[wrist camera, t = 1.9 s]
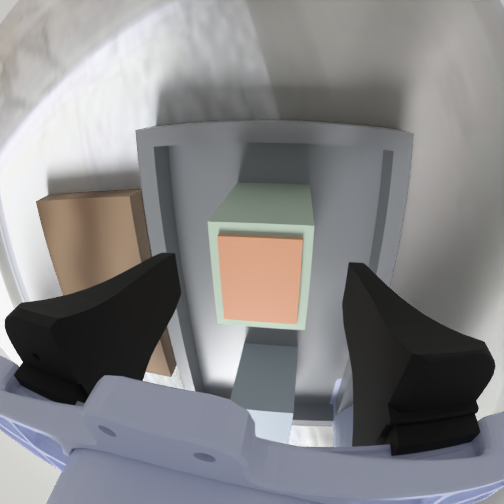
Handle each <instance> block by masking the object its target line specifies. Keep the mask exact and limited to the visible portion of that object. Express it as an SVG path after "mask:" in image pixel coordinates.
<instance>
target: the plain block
mask: <svg viewBox="0 0 504 504" xmlns="http://www.w3.org/2000/svg"><path fill="white" fill-rule="evenodd" d="M297 351H298V347H293V346H277V345H264V344H252V343H244V346H243V350H242V354H241V358H240V362H239V366H238V370H237V374H236V378H235V382H234V386H233V390H232V394H231V398H230V400H232V401H233V402H235V403H236V404H238V405H240V406H241V407H243V408H244V409H246V410H247V411H248V412H249V413H250V415H251V417H252V419H253V420H254V422H255V434H256V437H259V438H262V439H267V440H271V441H275V442H279V443H284V444H288V442H289V437H290V431H291V425H292V419H293V412H294V399H295V385H296V369H297Z"/></svg>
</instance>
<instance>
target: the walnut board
mask: <svg viewBox="0 0 504 504" xmlns="http://www.w3.org/2000/svg"><path fill="white" fill-rule="evenodd" d="M36 203H37V208H38V212H39V216H40V220H41V224H42V228H43V232H44V236H45V239H46V243H47V246H48V250H49V253H50V256H51V260H52V263H53V266H54V269H55V272H56V275H57V278H58V281H59V284H60V287H61V289H62V292H63V295H64V296H65V295H68V294H72V293H75V292H78V291H81V290H84V289H87V288H90V287H92V286H95V285H97V284H100V283H102V282H104V281H107V280H109V279H111V278H113V277H115V276H117V275H119V274H121V273H123V272H125V271H127V270H129V269H130V268H132V267H134V266H136V265H138V264H140V263H141V262H143V261H145V260H147V259H149V258H151V251H150V245H149V240H148V234H147V228H146V221H145V215H144V208H143V201H142V194H141V189H137V190H115V191H97V192H82V193H68V194H56V195H48V196H46V197H44V198H42V199H40V200H38V201H36ZM175 367H176V361H175V358H174V354H173V350H172V346H171V343H170V339H169V335H168V331H167V327H166V329H165V331H164V333H163V334H162V336H161V338H160V340H159V342H158V344H157V346H156V347H155V349H154V352H153V354H152V356H151V358H150V361H149V364H148V366H147V369H146V372H150V373H154V374H159V375H164V376H170V377H171V376H172V374H173V372H174V369H175Z"/></svg>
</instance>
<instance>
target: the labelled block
mask: <svg viewBox="0 0 504 504" xmlns="http://www.w3.org/2000/svg"><path fill="white" fill-rule="evenodd" d="M208 233H209V244H210V256H211V266H212V277H213V287H214V296H215V306H216V315H217V324H227V325H238V326H250V327H262V328H276V329H292V330H305V325H306V316H307V307H308V297H309V287H310V276H311V264H312V252H313V239H314V217H313V208H312V199H311V191H310V185H306V184H282V183H237V184H236V185H235V186H234V188H233V189H232V190H231V192H230V193H229V194H228V195H227V197H226V198H225V199H224V201H223V202H222V203H221V205H220V206H219V207H218V209H217V210H216V211H215V212H214V214H213V215H212V216H211V218H210V219H209V220H208Z"/></svg>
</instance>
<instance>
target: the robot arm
mask: <svg viewBox="0 0 504 504" xmlns="http://www.w3.org/2000/svg"><path fill="white" fill-rule="evenodd" d="M180 296H181V287H180V281H179V275H178V269H177V262H176V256H175V253H163V252H162V253H160V254H157V255H155V256H153V257H151V258H149V259H147V260H145V261H143V262H141V263H140V264H138V265H136V266H134V267H132V268H130V269H129V270H127V271H125V272H123V273H121V274H119V275H117V276H115V277H113V278H111V279H109V280H107V281H104V282H102V283H100V284H97V285H95V286H92V287H90V288H87V289H84V290H81V291H78V292H75V293H72V294H68V295H65V296H61V297H56V298H52V299H46V300H40V301H33V302H24V303H21V304H19V305H18V306H17V307H16V308H15V309H14V310H13V311H12V312H11V313H10V314H9V315H8V316H7V317H6V319H5V329H6V332H7V335H8V337H9V339H10V341H11V343H12V344H13V346H14V348H15V350H16V351H17V353H18V355H19V356H20V358H21V360H22V361H23V363H22V365H21V366H20V367H19V366H18V365H17V364H15V363H14V362H12V361H10V360H8V359H6V358H4V357H2V356H0V430H1V431H3V432H4V433H5V434H7V435H8V436H10V437H11V438H12V439H14V440H15V441H17V442H18V443H19V444H21V445H22V446H24V447H25V448H26V449H28V450H29V451H31V452H32V453H34V454H35V455H37V456H38V457H40V458H41V459H43V460H44V461H46V462H48V463H49V464H51V465H52V466H54V467H55V468H57V469H59V470H61V471H62V473H61V475H60V477H59V479H58V481H57V483H56V485H55V487H54V489H53V491H52V493H51V495H50V497H49V500H48V501H47V504H474V503H476V502H479V501H481V500H484V499H486V498H488V497H489V496H491V495H492V494H493V493H495V492H497V491H498V490H500V489H501V488H503V487H504V412H501V413H497V414H493V415H489V416H486V417H483V418H482V419H480V420H479V421H478V422H477V419H476V416H475V413H477V412H478V409H479V408H478V405H477V402H476V400H477V399H478V397H479V396H480V395H481V393H482V392H483V390H484V389H485V388H486V386H487V385H488V383H489V381H490V380H491V378H492V376H493V374H494V370H495V362H494V359H493V357H492V355H491V353H490V351H489V349H488V347H487V346H486V344H485V342H484V341H481V340H478V339H475V338H472V337H469V336H466V335H463V334H461V333H459V332H456V331H454V330H452V329H450V328H447V327H445V326H443V325H441V324H440V323H438V322H436V321H434V320H432V319H431V318H429V317H427V316H426V315H424V314H422V313H421V312H419V311H418V310H417V309H415V308H414V307H412V306H411V305H410V304H408V303H407V302H406V301H404V300H403V299H402V298H401V297H400V296H398V295H397V294H396V293H395V292H394V291H393V290H391V289H390V288H389V287H388V286H387V285H386V284H385V283H384V282H383V281H382V280H381V279H380V278H379V277H378V276H377V275H376V274H375V273H374V272H373V271H372V270H371V269H370V268H369V267H368V266H367V265H365V264H364V263H358V262H349V264H348V271H347V278H346V284H345V290H344V296H343V301H342V310H343V324H344V330H345V335H346V340H347V346H348V351H349V357H350V362H351V369H352V379H353V404H352V406H350V407H348V408H346V409H344V410H343V411H342V412H340V413H339V414H338V415H337V416H336V396H337V394H338V390H339V387H340V384H341V380H342V378H340V379H338V380H337V381H336V383H335V387H334V390H333V394H332V397H331V401H330V404H333V447H298V446H293V445H289V444H284V443H279V442H275V441H271V440H267V439H262V438H259V437H256V434H255V422H254V420H253V419H252V417H251V415H250V413H249V412H248V411H247V410H246V409H244V408H243V407H241V406H240V405H238V404H236V403H235V402H233V401H232V400H230V399H226V398H222V397H219V396H215V395H212V394H208V393H201V392H195V391H189V390H184V389H178V388H173V387H168V386H163V385H158V384H153V383H149V382H144V381H143V378H144V374H145V372H146V369H147V366H148V364H149V361H150V358H151V356H152V354H153V352H154V349H155V347H156V346H157V344H158V342H159V340H160V338H161V336H162V334H163V333H164V331H165V329H166V327H167V325H168V323H169V322H170V320H171V318H172V316H173V314H174V312H175V310H176V307H177V304H178V302H179V299H180Z"/></svg>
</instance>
